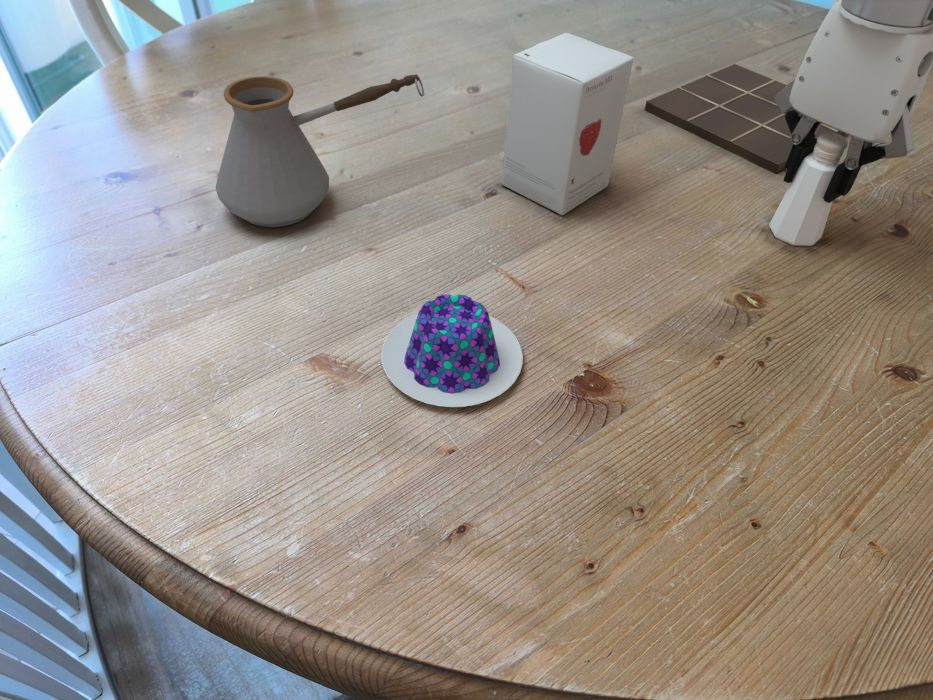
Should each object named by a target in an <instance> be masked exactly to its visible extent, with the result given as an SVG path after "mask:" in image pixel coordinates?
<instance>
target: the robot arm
mask: <svg viewBox="0 0 933 700" xmlns="http://www.w3.org/2000/svg"><path fill="white" fill-rule="evenodd" d="M932 66H933V0H838V1H836V2H834V3H833V5H832V6H831V8H830V9H829V10H828V12H827V14H826V16H825V17H824V19H823V21H822V22H821V24H820V26H819V28H818V30H817V31H816V33H815V35H814V37H813V39H812V41H811V43H810V45H809V46H808V50H807V51H806V52H805V55H804V57H803V60H802V62H801V65H800V66H799V69H798V71H797V74H796V76H795V78H794V79H793V80H792V81H791V82H790V83H788V84H786V85H787V86H786V87H785V88H783V89H782V90H781V91H780V92H779V93H777V94H776V95H775V97H774V101H775V103H776V104H777V106H778V107H779V109H780V110H781V112H782V113H783V114H784V115H785V120H786V122H787V124H788V127H789V129H790V132H791V134H792V135H791V137H790V141H791V143H792V144H793V146H792V148H791V151H790V154H789V156H788V159H787V162H786V164H785V168H784V169H786V171H785V174H784V177H783V182H785V183H787V184H791V182H792V181H793V178H794V176H795V174H796V172H797V171H798V169H799V167H800V165H801V163H802V161H803V160H804V158H805V157H807V156H808V155H809V154H811V153H813V151H814V147H815V145H816V143H817V139H816V138H815V134H816V132H817V131H818V129H819V127H820V126H821V124H822V123H823V124H825V125H827V126H830V127H832V128H834V129H837V130H839V131H841V132H844V133H845V134H846V135H849V136H850V139H849V142H848V146H847V147H848V148H847V151H846V156H845V158H844V160H843V162H840V163H841V164H839V165H838V166H837V167H836V169H835V171H834V174H833V176H832V178H831V181H830V183H829V185H828V188H827V190H826V192H825V195H824V197H823V199H824V201H825V202H828V203H830V202H832V201H833V202H834V201H835V200H836V199H838V198H839V197H841V196H842V197H845V196H847V195H848V194H849V193H850V191H851V190H852V188H853V186H854V184H855V181H856V179H857V178H858V175H859V173H860V171H861V169H862V166H865V165H868V164H871V163H874V162H877V161H879V160H884V159H895V158H903V157H906V156H907V155H908V154H910V153H911V152H912V151H914V148H915V146H914V138H913V137H914V136H913V131H912V124H911V119H912V117H913V114H914V112H915V111H916V108H917V106H918V103H919V100H920V98H921V96H922V93H923V91H924V89H925V85H926V83H927V79H928V77H929V74H930V71H931V69H932ZM889 135H891V141H890V142H885V141H886V140H887V138H888V137H889ZM833 202H832V203H833Z"/></svg>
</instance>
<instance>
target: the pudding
mask: <svg viewBox="0 0 933 700" xmlns="http://www.w3.org/2000/svg"><path fill="white" fill-rule="evenodd" d="M380 355H381V356H380V357H381V358H380V359H381V364H382V368H383V371H384V373H385V374H386V377H387V379H388V380H389V381H390V382H391V383H392V384H393V386H395V388H397V389H398V390H399V391H400V392H402V393H403V394H405V395H407V396H408V397H410V398H411V399H414V400H417V401H419V402H422V403H425V404H427V405H432V406H436V407H446V408H463V407H464V408H465V407H470V406H476V405H480V404H482V403H483V404H484V403H486V402H489V401H491V400H493V399H495V398H497V397H499V396H501V395H502V394H503V393H505V392H506V391H507V390H509V389H510V388H511V387H512V385H514V383H515V382H516V381H517V379H518V378H519V375H520V374H521V371H522V368H523V363H524V355H523V349H522V346H521V344H520V341H519V340H518V338H517V337H516V335H515V334H514V332H513V331H512V330H511V329H510V328H509V327H508V326H507V325H506V324H504V323H503V322H501V321H500V320H498V319H497V318H495V317H493V316H491V315H490V314H489V312H488V310H487V308H486V306H485V305H484V304H482V302H479V301H476V300H475V301H474V300H473V298H472V297H470V296H468V295H467V294H457V295H452V294H449V293H447V294H446V293H445V294H441V295H437V296H436V298H435V299H432V300H427V301H426V302H425V303H422V306H421V307H420V309H419V311H418V312H417V313H414V314H412V315H410V316H408V317H406V318H405V319H403V320H401V321H399V322H398V324H396V325H395V326H394V327H393V328H392V329H391V330H390V332H389V333H388V334H387V335H386V338H385V340H384V341H383V343H382V347H381V351H380Z"/></svg>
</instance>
